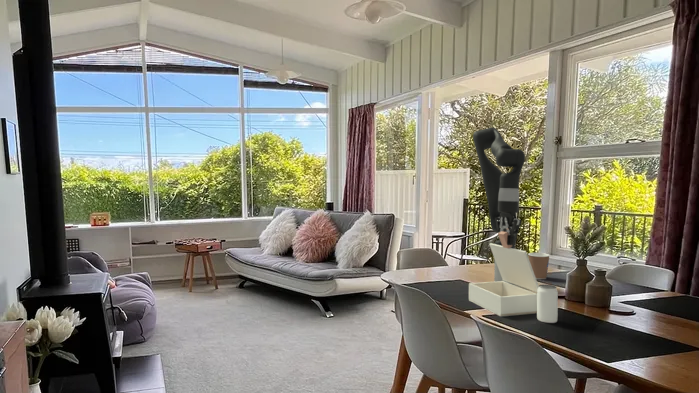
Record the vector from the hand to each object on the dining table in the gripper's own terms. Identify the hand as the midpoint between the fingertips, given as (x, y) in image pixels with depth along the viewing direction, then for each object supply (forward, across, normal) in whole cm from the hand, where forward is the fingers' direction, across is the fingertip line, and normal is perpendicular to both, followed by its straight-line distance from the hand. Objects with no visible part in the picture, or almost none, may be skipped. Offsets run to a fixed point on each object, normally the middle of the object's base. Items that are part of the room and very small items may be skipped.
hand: (506, 244), depth 163 cm
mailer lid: (+6, 0, -2) cm, 7 cm away
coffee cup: (+22, +39, -47) cm, 65 cm away
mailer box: (+24, 0, +1) cm, 24 cm away
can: (+24, -19, -4) cm, 31 cm away
